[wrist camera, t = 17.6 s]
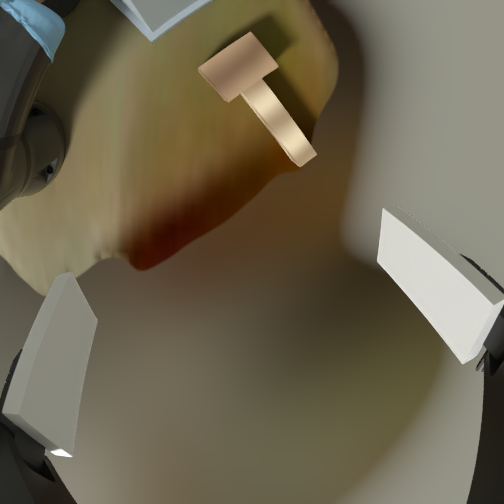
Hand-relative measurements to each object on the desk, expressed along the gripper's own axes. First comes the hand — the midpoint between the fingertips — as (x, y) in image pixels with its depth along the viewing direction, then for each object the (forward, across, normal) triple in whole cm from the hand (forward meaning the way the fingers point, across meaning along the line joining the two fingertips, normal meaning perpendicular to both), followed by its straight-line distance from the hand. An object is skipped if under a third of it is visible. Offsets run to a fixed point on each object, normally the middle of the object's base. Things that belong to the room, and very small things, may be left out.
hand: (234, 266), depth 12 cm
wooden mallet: (+35, +9, +4) cm, 36 cm away
